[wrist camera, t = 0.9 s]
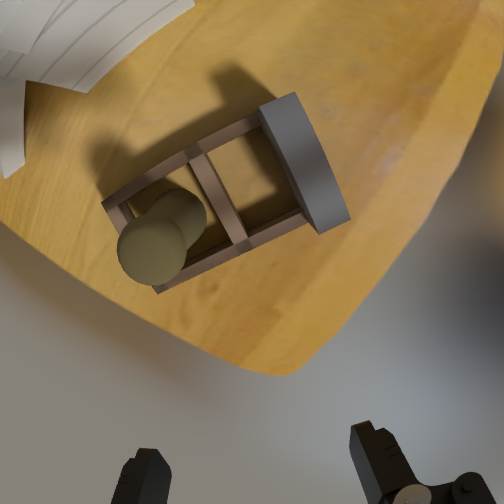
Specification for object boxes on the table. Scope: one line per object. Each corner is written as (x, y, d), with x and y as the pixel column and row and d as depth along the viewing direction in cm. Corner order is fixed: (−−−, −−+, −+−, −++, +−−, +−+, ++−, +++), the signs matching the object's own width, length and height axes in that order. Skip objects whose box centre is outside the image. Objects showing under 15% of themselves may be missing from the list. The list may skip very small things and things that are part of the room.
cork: (142, 232, 28) (97, 277, 18) (162, 179, 27) (117, 200, 16) (193, 255, 30) (170, 311, 19) (216, 203, 28) (201, 238, 17)
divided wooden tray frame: (109, 198, 27) (82, 211, 21) (283, 103, 24) (294, 91, 18) (162, 284, 30) (147, 314, 25) (329, 204, 28) (350, 219, 22)
